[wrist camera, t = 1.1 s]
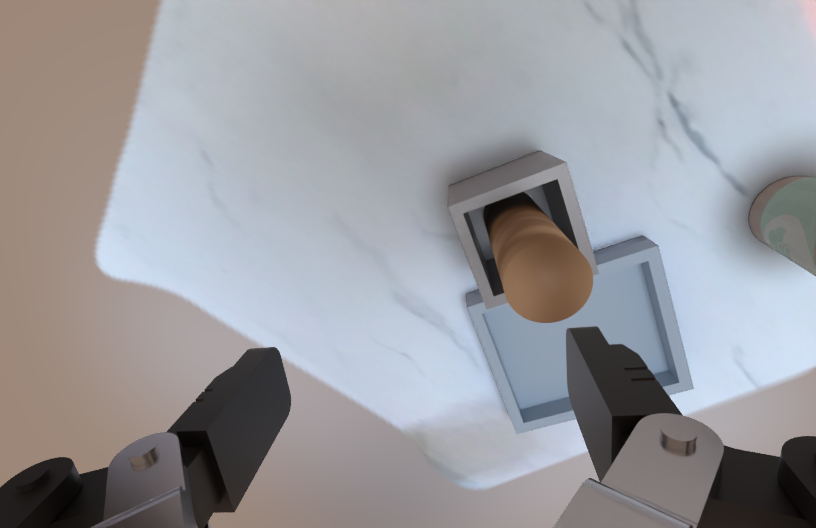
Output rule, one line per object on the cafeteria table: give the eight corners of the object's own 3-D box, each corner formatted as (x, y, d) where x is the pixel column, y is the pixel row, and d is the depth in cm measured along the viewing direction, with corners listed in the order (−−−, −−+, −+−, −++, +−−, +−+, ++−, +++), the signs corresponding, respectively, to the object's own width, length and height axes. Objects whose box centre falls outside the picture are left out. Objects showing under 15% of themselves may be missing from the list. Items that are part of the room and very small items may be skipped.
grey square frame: (539, 150, 37) (566, 162, 28) (566, 238, 39) (599, 273, 30) (448, 185, 38) (447, 207, 30) (479, 267, 40) (486, 309, 32)
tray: (643, 235, 38) (658, 245, 35) (677, 370, 42) (693, 388, 39) (465, 294, 41) (466, 307, 38) (512, 413, 45) (516, 434, 42)
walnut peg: (527, 180, 36) (579, 229, 21) (542, 229, 38) (603, 308, 23) (476, 199, 37) (492, 259, 22) (492, 246, 39) (519, 333, 23)
